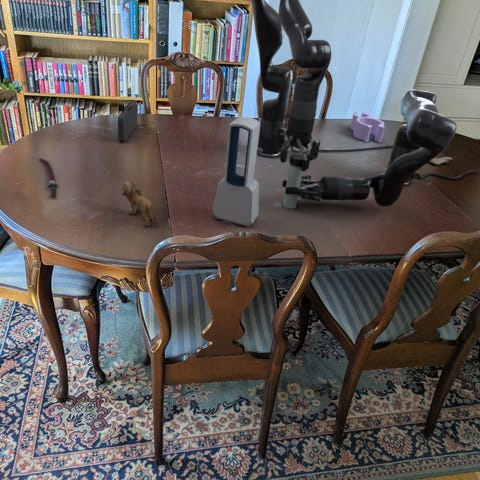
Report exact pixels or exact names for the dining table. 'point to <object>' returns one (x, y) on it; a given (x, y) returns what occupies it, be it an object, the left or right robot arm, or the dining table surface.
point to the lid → (296, 159)
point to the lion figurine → (137, 201)
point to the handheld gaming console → (127, 121)
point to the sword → (52, 181)
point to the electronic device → (239, 178)
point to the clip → (367, 127)
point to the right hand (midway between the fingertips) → (284, 187)
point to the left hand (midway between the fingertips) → (293, 166)
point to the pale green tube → (292, 185)
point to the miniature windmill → (292, 80)
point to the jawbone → (440, 160)
